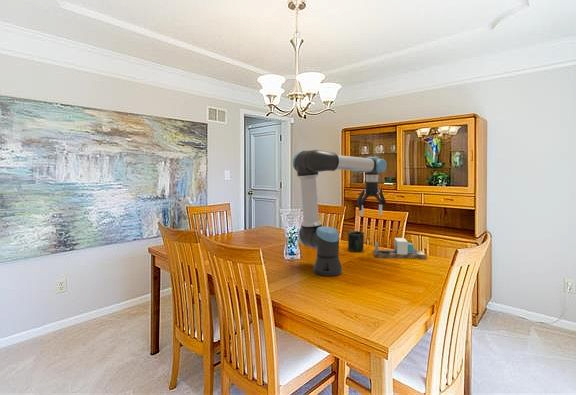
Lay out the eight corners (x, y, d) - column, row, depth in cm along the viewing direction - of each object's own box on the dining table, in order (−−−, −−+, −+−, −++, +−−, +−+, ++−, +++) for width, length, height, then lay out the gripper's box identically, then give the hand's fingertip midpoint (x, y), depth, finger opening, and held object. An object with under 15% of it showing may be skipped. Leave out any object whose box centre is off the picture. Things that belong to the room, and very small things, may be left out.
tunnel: (397, 254, 197) (397, 241, 196) (394, 250, 207) (394, 237, 206) (407, 254, 196) (407, 241, 195) (403, 250, 206) (404, 238, 205)
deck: (375, 257, 198) (375, 253, 198) (373, 253, 209) (373, 249, 209) (426, 259, 194) (426, 255, 194) (421, 254, 205) (421, 250, 205)
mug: (344, 251, 215) (345, 233, 214) (352, 246, 227) (353, 229, 226) (360, 253, 209) (361, 235, 208) (367, 248, 221) (368, 231, 220)
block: (403, 251, 199) (403, 244, 198) (401, 249, 203) (401, 242, 203) (413, 251, 198) (413, 244, 198) (411, 250, 202) (411, 242, 202)
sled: (376, 252, 200) (376, 244, 199) (374, 249, 207) (375, 242, 207) (417, 253, 196) (417, 245, 196) (414, 250, 204) (414, 243, 203)
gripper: (356, 181, 195) (356, 216, 197) (392, 181, 202) (391, 215, 204) (351, 181, 202) (350, 215, 204) (385, 181, 210) (384, 213, 211)
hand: (370, 215), depth 204 cm, fingers open, 13 cm apart
